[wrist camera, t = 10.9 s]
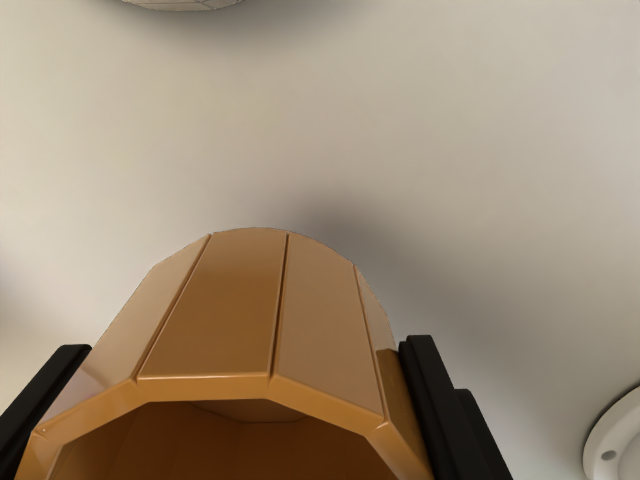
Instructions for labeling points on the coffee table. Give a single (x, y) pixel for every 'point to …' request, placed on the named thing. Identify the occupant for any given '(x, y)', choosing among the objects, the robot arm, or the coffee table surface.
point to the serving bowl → (182, 4)
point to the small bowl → (238, 375)
